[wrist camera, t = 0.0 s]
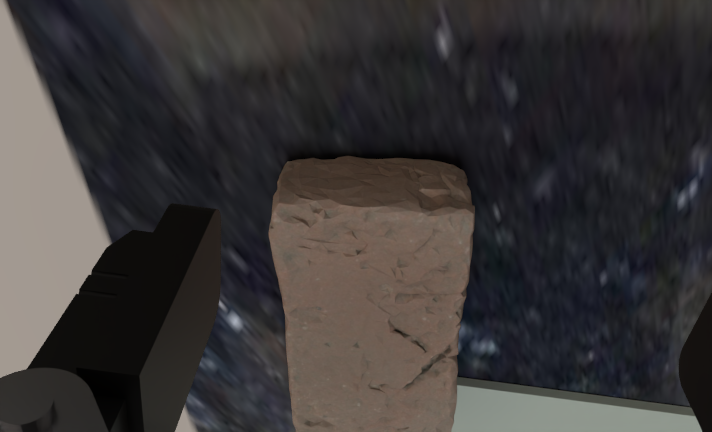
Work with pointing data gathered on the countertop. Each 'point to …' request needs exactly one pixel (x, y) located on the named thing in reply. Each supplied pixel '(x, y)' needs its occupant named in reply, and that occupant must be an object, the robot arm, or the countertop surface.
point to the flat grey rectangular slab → (560, 411)
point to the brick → (372, 290)
